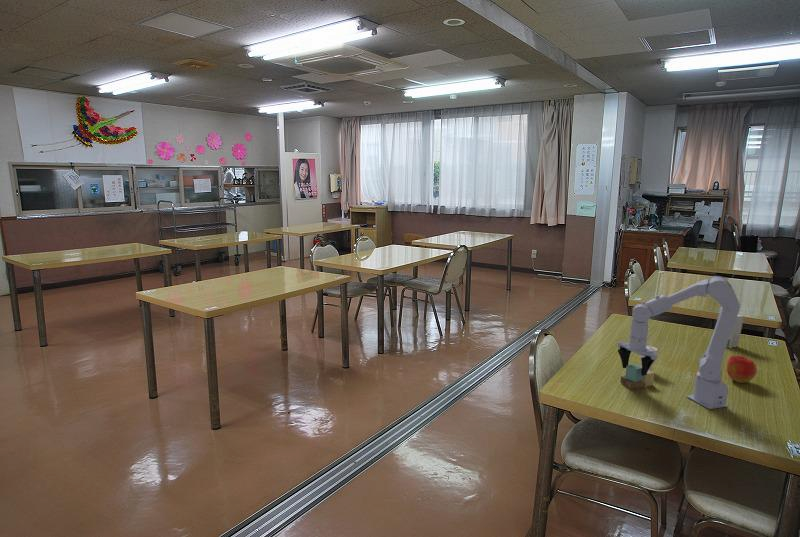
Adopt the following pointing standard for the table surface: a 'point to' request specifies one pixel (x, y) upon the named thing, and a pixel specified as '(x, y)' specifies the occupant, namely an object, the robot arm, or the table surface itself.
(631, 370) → the teal block
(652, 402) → the table surface
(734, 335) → the skincare box
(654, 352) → the smoothie
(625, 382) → the walnut slab
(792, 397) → the table surface
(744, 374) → the apple
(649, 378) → the mustard block
